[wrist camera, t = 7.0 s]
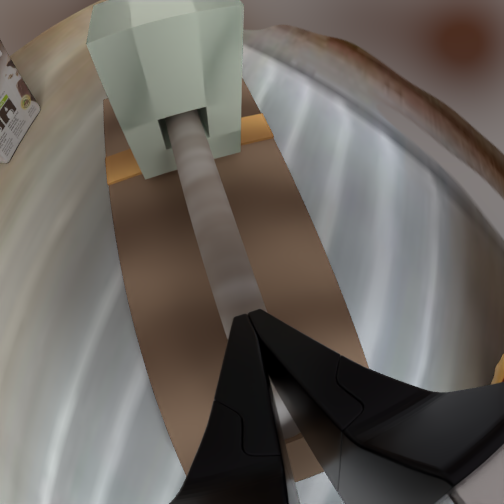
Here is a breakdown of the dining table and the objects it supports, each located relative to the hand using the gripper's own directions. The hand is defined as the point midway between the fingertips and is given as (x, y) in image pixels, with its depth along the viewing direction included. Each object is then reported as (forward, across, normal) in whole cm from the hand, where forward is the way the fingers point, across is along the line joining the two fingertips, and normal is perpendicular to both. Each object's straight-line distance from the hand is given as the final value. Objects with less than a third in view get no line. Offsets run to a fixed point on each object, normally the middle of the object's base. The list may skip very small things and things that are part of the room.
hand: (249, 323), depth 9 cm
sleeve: (+11, 0, -5) cm, 12 cm away
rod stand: (+9, 0, 0) cm, 9 cm away
